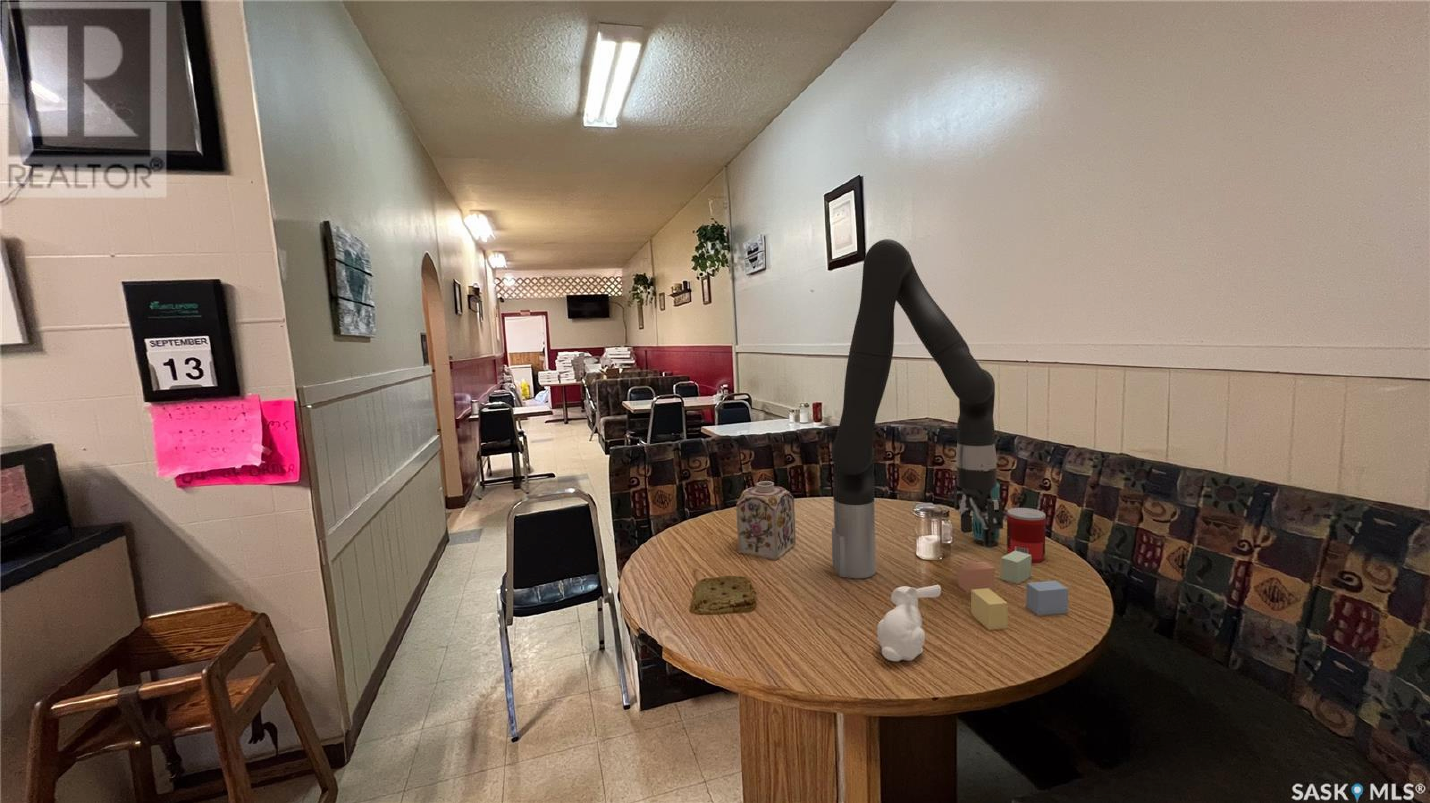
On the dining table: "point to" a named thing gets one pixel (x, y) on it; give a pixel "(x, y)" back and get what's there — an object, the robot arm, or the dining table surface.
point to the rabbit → (904, 624)
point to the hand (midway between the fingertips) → (977, 539)
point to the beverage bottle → (977, 523)
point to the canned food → (1026, 532)
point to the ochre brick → (989, 608)
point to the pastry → (723, 595)
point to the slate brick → (1047, 598)
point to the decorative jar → (766, 521)
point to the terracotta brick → (975, 576)
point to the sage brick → (1016, 567)
